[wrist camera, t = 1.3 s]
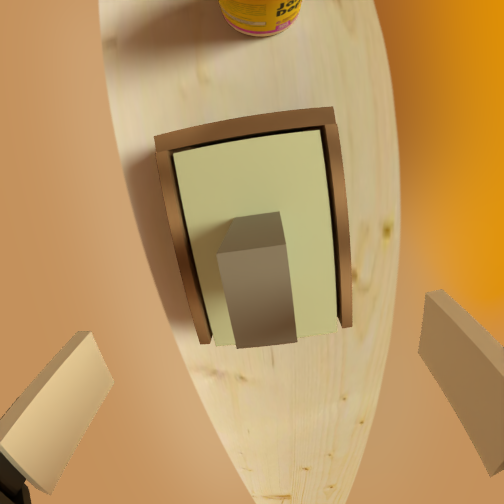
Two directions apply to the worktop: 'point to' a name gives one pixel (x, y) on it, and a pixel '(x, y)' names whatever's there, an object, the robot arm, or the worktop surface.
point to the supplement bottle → (260, 15)
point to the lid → (261, 237)
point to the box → (241, 131)
